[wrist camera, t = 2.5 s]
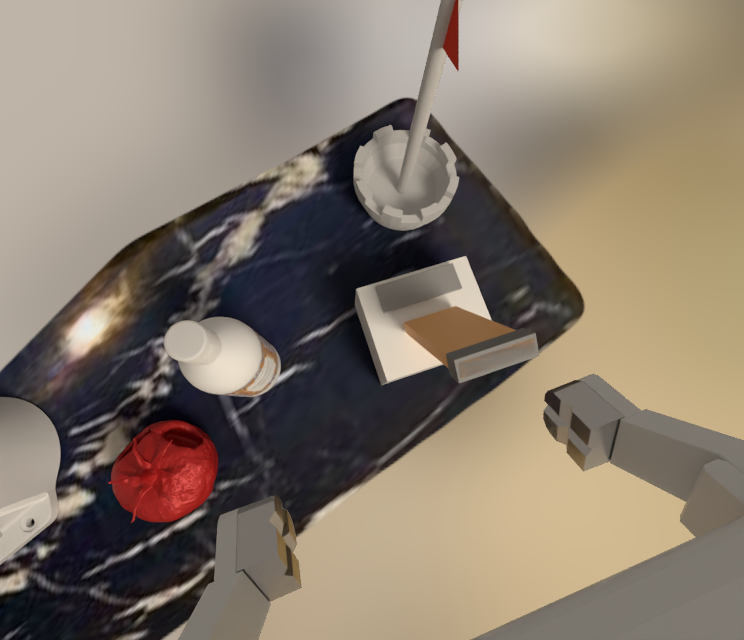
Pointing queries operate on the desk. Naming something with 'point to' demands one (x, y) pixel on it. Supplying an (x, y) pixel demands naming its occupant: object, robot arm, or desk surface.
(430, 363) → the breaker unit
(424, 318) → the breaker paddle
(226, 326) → the bath foam
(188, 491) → the pomegranate
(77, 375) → the desk surface
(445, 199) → the flag stand
